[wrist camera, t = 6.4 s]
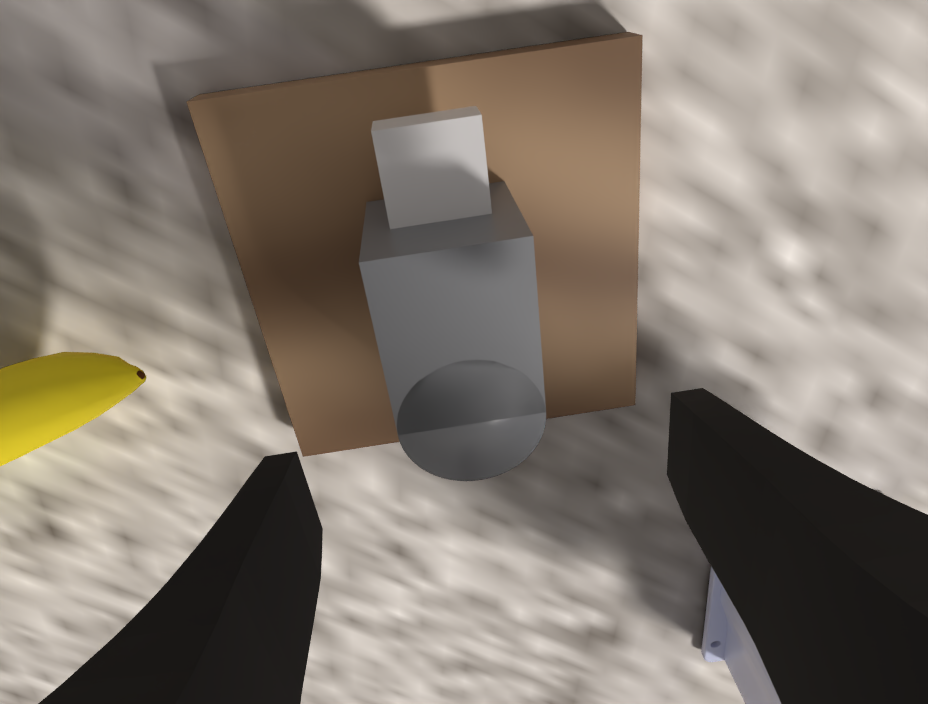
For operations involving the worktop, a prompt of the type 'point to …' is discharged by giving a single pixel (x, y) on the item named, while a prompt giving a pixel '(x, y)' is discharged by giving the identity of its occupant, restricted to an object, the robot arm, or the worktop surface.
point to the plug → (453, 299)
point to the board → (358, 181)
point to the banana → (58, 397)
